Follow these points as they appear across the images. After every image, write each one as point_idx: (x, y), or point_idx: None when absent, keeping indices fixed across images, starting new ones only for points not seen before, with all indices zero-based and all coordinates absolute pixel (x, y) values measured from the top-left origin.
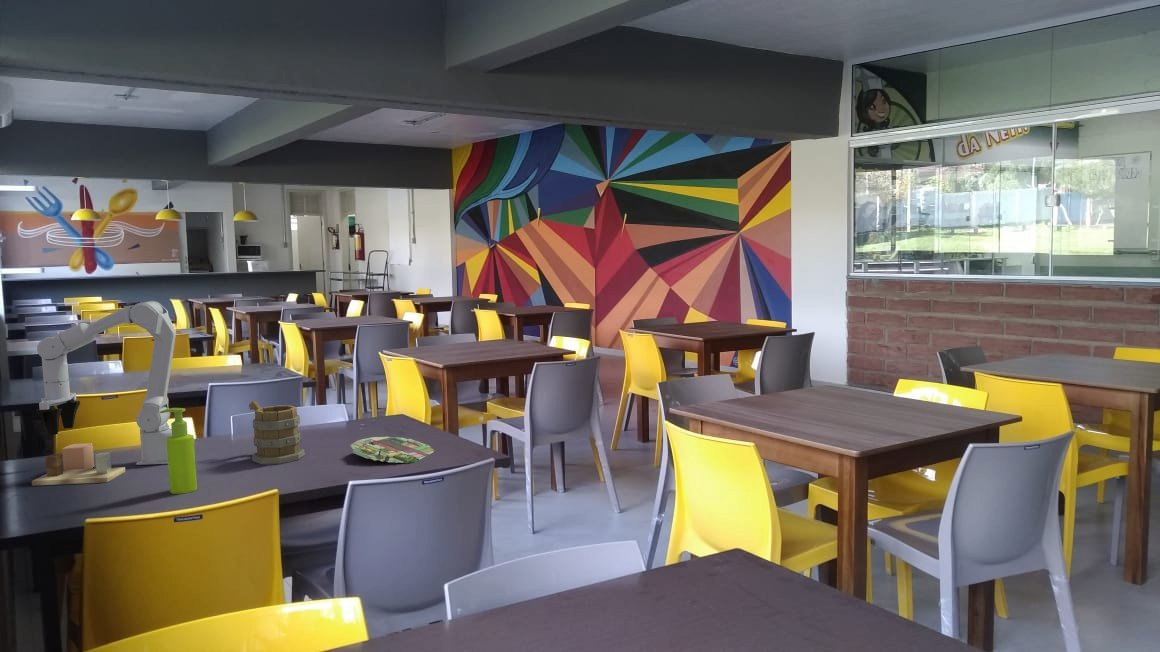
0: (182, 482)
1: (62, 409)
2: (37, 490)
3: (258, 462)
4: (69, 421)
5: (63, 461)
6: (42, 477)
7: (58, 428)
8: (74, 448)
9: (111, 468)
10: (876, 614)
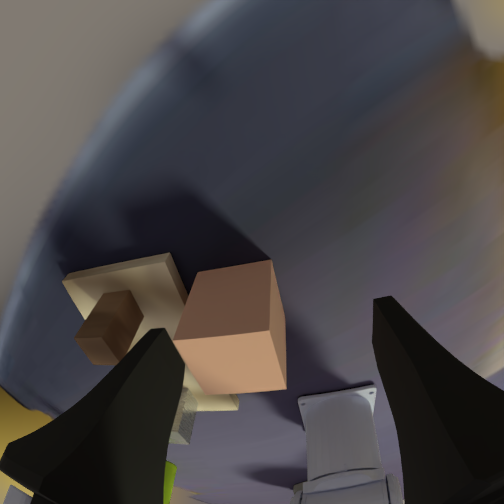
0: None
1: (432, 447)
2: (56, 310)
3: (298, 484)
4: (387, 373)
5: (187, 301)
6: (92, 286)
7: (176, 399)
8: (193, 374)
9: (196, 408)
10: None
